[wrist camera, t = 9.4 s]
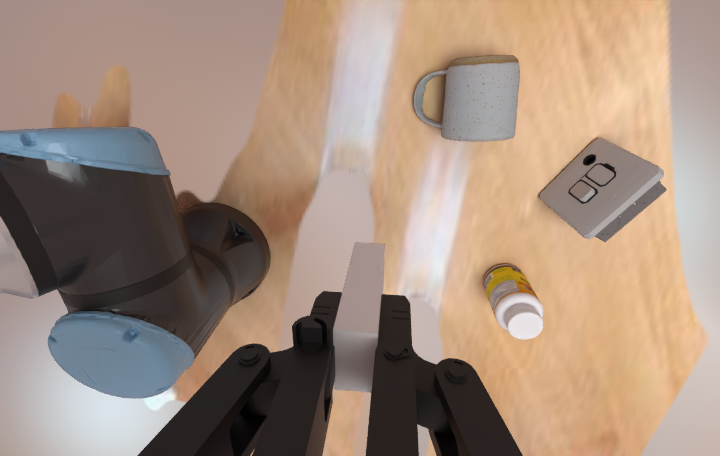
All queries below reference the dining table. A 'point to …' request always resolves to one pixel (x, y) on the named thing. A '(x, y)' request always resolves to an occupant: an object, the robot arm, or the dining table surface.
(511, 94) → the ceramic mug
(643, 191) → the electrical switch
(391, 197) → the dining table surface
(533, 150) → the dining table surface
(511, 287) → the supplement bottle
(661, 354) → the dining table surface
